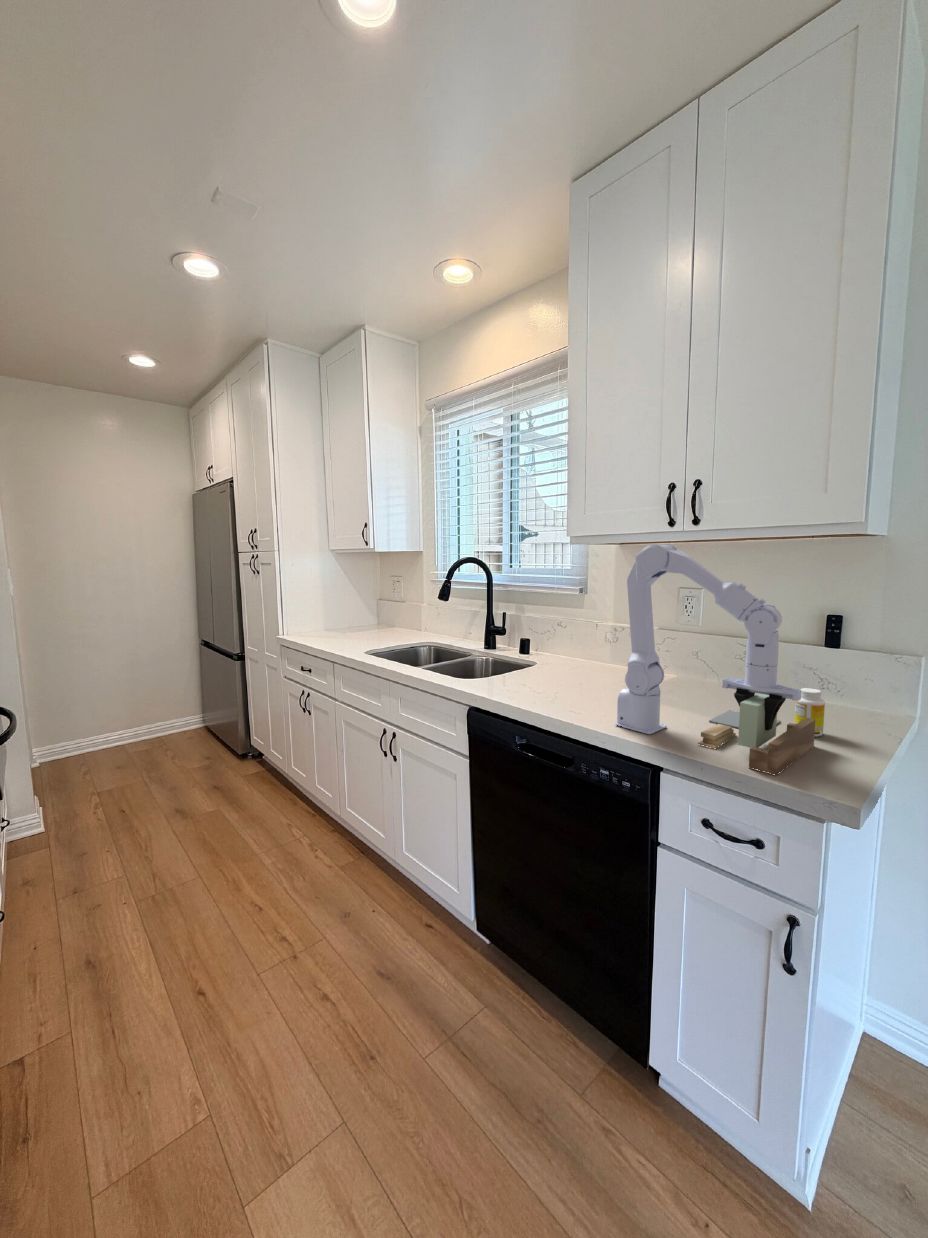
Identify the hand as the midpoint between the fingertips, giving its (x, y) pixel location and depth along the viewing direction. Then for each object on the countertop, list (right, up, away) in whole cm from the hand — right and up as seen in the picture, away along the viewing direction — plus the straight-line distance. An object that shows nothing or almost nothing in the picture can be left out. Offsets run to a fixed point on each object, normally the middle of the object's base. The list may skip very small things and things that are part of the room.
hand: (758, 726), depth 107 cm
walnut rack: (+3, -5, -3) cm, 7 cm away
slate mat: (+7, -3, +18) cm, 20 cm away
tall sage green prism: (0, -3, 0) cm, 3 cm away
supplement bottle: (+17, -4, +10) cm, 20 cm away
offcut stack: (-5, -5, +7) cm, 10 cm away
